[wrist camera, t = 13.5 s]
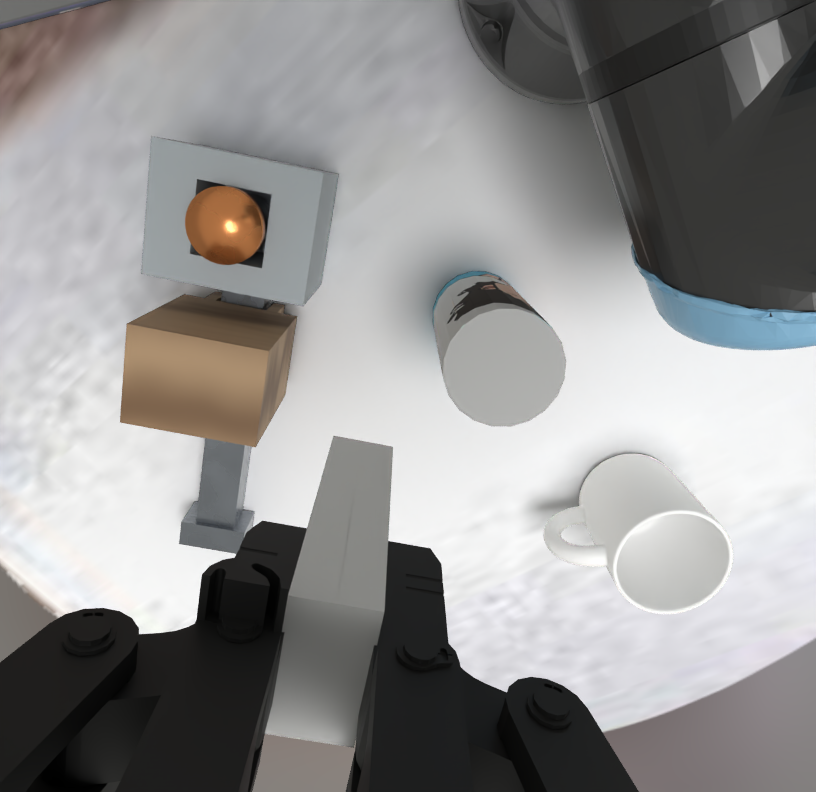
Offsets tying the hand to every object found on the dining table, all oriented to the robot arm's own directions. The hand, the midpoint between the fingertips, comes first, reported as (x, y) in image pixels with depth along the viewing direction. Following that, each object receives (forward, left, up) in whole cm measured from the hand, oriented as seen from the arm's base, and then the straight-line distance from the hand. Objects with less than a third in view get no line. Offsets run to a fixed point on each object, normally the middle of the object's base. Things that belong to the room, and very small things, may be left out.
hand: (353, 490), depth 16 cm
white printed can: (+1, +7, -35) cm, 35 cm away
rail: (+11, -10, -34) cm, 37 cm away
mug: (+14, +21, -35) cm, 43 cm away
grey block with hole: (-3, -10, -34) cm, 36 cm away
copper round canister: (-3, -10, -31) cm, 33 cm away
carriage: (+6, -10, -34) cm, 36 cm away
